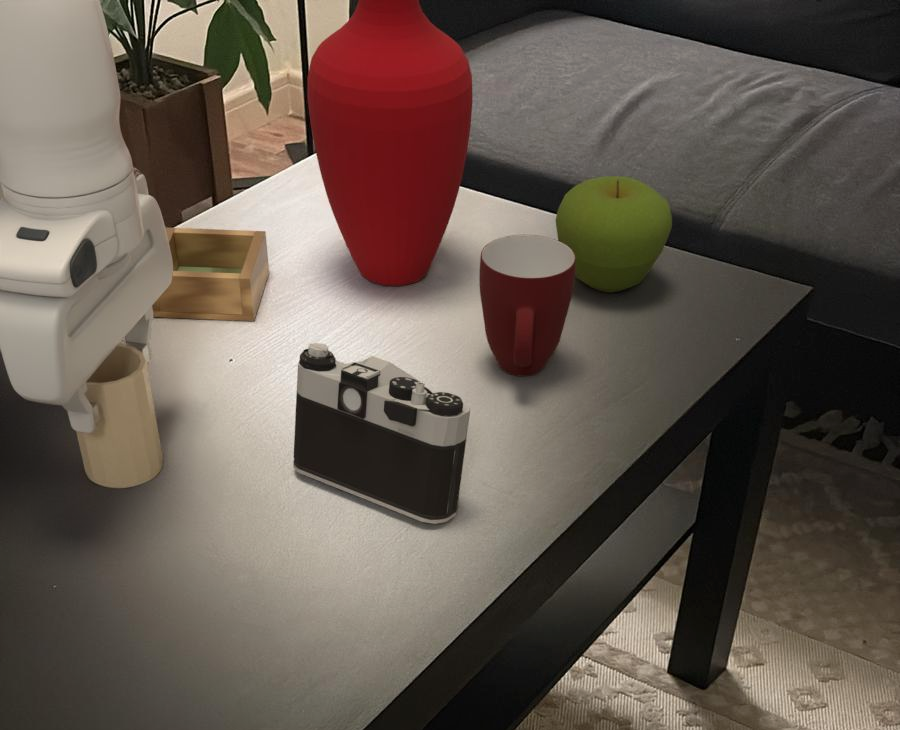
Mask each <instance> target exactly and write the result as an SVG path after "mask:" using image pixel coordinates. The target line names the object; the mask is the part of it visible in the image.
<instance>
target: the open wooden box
mask: <svg viewBox="0 0 900 730" xmlns="http://www.w3.org/2000/svg"><path fill="white" fill-rule="evenodd" d="M165 229H166V233H167V237H168V241H169V246H170V251H171V255H172V260H173V275H172V281H171V284H170V285H169V287H168V288H167V289H166V290H165V291H164V292H163V293H162V295H161V296H160V297H159V298H158V299H157V300H156V302H155V303H154V304H153V305H152V309H153V318H164V319H165V318H169V319H191V320H194V319H195V320H214V321H215V320H216V321H217V320H218V321H241V322H242V321H243V322H255V319H256V317H257V313H258V311H259V307H260V303H261V300H262V297H263V294H264V291H265V288H266V285H267V284H266V283H267V281H268V277H269V275H270V267H269V266H270V265H269V254H268V244H267V233H266V230H243V229H242V230H241V229H217V228H192V227H191V228H189V227H165Z"/></svg>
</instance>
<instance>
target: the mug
mask: <svg viewBox="0 0 900 730" xmlns="http://www.w3.org/2000/svg"><path fill="white" fill-rule="evenodd" d="M479 257H480V258H479V277H478V280H479V284H478V285H479V294H480V302H481V308H482V316H483V317H482V318H483V323H484V330H485V336H486V341H487V344H488V346H489V349H490V351H491V353H492V355H493V357H494V358H495V360H496V362H497V364H498V366H499V367H500V369H501V370H502V371H503V372H505V373H507V374H508V375H512V376H514V377H515V376H517V377H531V376H533V375H536V374H538V373H540V372H541V371H542V370H543V369H544V368H545V366H546V365H547V363H548V362H549V360H550V359H551V357H552V356H553V354H554V353H555V351H556V349H557V348H558V346H559V343H560V342H561V341H560V340H561V337H562V334H563V330H564V328H565V327H564V326H565V323H566V319H567V315H568V311H569V308H570V304H571V300H572V297H573V293H574V288H575V287H574V286H575V285H574V284H575V277H576V276H575V263H576V257H575V254H574V252H573V251H572V249H571V248H570V247H568V246H567V245H566V244H564V243H562V242H560V241H558V239H556V238H555V239H554V238H552V237H548V236H544V235H537V234H513V235H512V234H511V235H507V236H502V237H498V238H496V239H494V240H492V241H490V242H488V243H487V244H485V245H484V246H483V248H482V249H481V251H480V256H479Z"/></svg>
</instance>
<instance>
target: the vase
mask: <svg viewBox="0 0 900 730" xmlns="http://www.w3.org/2000/svg"><path fill="white" fill-rule="evenodd" d="M419 1H420V0H358V1H357V5H356V7H355V10H354V12H353V14H352V15H351V17H350V18H349V19H348V21H346V22H345V23H344V24H343V25H342V26H341V27H340V28H339V29H337V30H335V31H334V32H333V33H332V34H330V35H329V36H328V37H326V38H325V39H324V40H322V41H321V43H320V44H319V45H318V46H317V48H316V49H315V51H314V53H313V54H312V56H311V59H310V63H309V68H308V74H307V82H306V83H307V104H308V105H307V106H308V113H309V121H310V129H311V134H312V139H313V145H314V150H315V155H316V160H317V164H318V167H319V172H320V175H321V179H322V180H321V181H322V183H323V187H324V190H325V193H326V197H327V200H328V203H329V206H330V208H331V211H332V214H333V216H334V219H335V222H336V225H337V227H338V229H339V231H340V234H341V236H342V238H343V241H344V242H345V246H346V247H347V249H348V252H349V254H350V256H351V258H352V260H353V262H354V265H355V267H356V269H357V271H358V272H359V274H360V275H361V276H362V277H363V278H364V279H366V280H367V281H369V282H371V283H373V284H377V285H380V286H381V285H382V286H387V287H396V286H397V287H400V286H406V285H410V284H414V283H417V282H419V281H420V280H421V279H423V278H424V277H425V276H426V275H427V274H428V272H429V270H430V268H431V266H432V264H433V262H434V259H435V257H436V254H437V252H438V250H439V247H440V245H441V243H442V240H443V237H444V235H445V233H446V231H447V227H448V225H449V223H450V219H451V217H452V214H453V212H454V208H455V205H456V201H457V199H458V195H459V191H460V187H461V184H462V178H463V175H464V169H465V166H466V165H465V164H466V159H467V156H468V155H467V154H468V147H469V141H470V133H471V126H472V112H473V74H472V70H471V66H470V61H469V58H468V57H467V55H466V54H465V51H463V49H462V47H461V45H460V44H459V43H458V42H457V41H456V40H454V39H453V38H452V37H450V36H449V35H448V34H446V33H445V32H444V31H443V30H441V29H439V28H438V27H437V26H436V25H435V24H433V23H432V21H430V20H429V18H428V17H427V15H426V14H425V13H424V11H423V9H422V6H421V4H420V2H419Z"/></svg>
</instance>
